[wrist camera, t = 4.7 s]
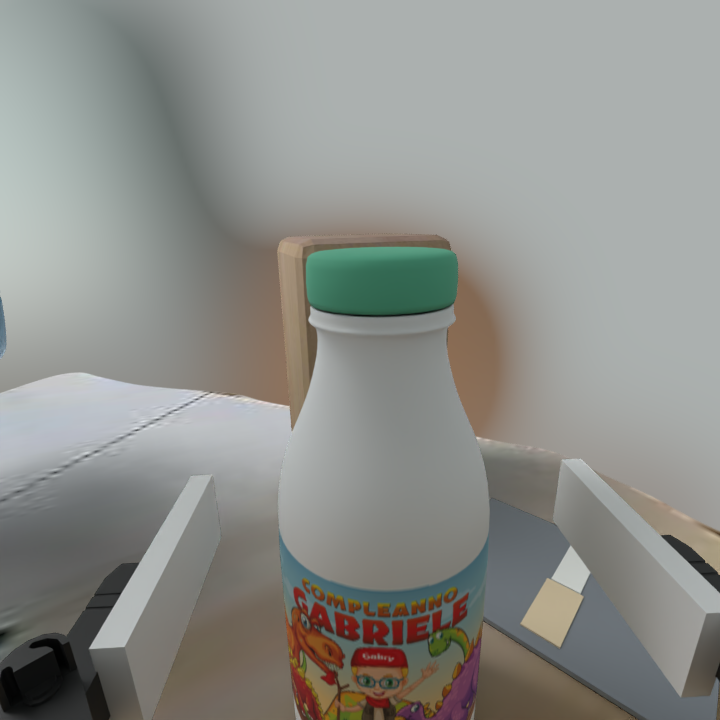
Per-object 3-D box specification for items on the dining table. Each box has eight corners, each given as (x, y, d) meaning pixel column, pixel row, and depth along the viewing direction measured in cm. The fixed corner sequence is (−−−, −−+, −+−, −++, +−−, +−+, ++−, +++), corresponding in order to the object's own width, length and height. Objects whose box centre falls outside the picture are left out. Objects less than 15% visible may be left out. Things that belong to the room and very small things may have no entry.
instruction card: (417, 578, 26) (417, 573, 25) (491, 500, 33) (491, 496, 32) (710, 765, 17) (713, 758, 16) (725, 602, 24) (727, 596, 23)
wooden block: (395, 447, 41) (396, 233, 35) (445, 509, 32) (458, 234, 26) (293, 465, 38) (274, 236, 32) (316, 540, 29) (296, 240, 23)
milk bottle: (294, 644, 22) (257, 246, 16) (436, 618, 23) (453, 241, 17) (300, 852, 15) (235, 264, 8) (506, 799, 16) (581, 252, 10)
